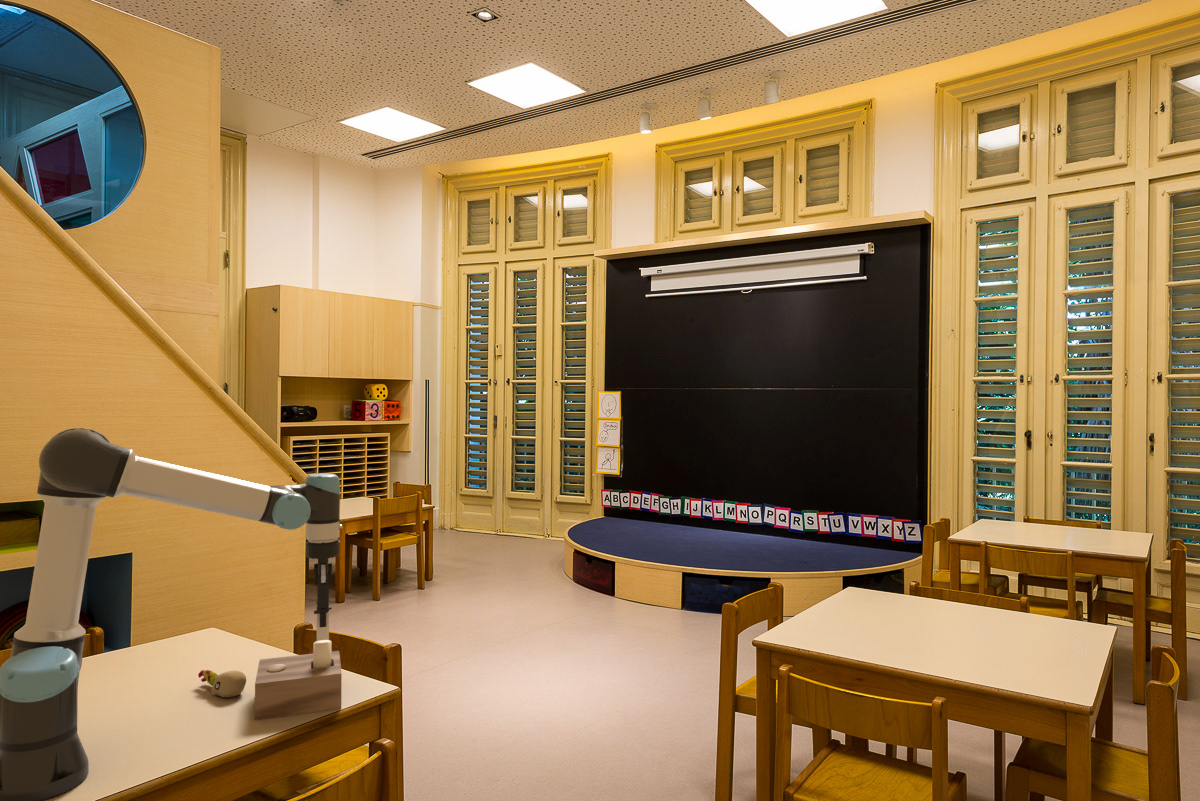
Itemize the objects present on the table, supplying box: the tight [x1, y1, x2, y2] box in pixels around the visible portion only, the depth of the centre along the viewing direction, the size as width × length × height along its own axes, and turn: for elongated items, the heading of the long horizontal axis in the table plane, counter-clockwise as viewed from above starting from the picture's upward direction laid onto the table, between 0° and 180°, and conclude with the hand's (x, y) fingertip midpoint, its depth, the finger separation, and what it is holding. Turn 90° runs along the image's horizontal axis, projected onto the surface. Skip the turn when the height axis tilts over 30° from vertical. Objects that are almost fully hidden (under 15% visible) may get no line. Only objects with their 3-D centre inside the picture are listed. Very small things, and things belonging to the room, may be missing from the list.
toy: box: [198, 669, 247, 698], centre depth 180 cm, size 6×7×15 cm
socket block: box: [254, 650, 343, 721], centre depth 175 cm, size 16×18×8 cm
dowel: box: [312, 639, 333, 668], centre depth 177 cm, size 4×4×8 cm
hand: (322, 639), depth 177 cm, fingers closed
